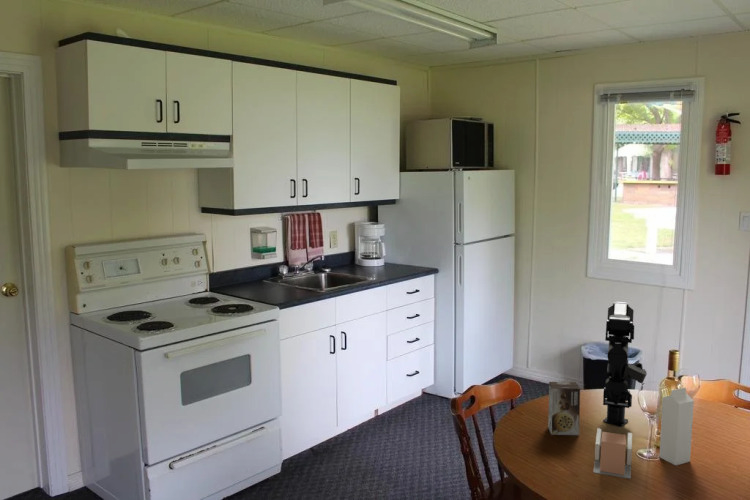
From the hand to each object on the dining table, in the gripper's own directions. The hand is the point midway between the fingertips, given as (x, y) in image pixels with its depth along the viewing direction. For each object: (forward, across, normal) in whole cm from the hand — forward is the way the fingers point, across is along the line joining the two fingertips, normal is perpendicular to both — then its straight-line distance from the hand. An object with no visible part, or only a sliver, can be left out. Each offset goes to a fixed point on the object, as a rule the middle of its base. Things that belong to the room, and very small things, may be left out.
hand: (615, 403), depth 200 cm
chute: (+12, -15, 0) cm, 19 cm away
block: (+12, -20, 0) cm, 24 cm away
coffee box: (+12, +1, +16) cm, 20 cm away
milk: (+12, -8, -17) cm, 23 cm away
